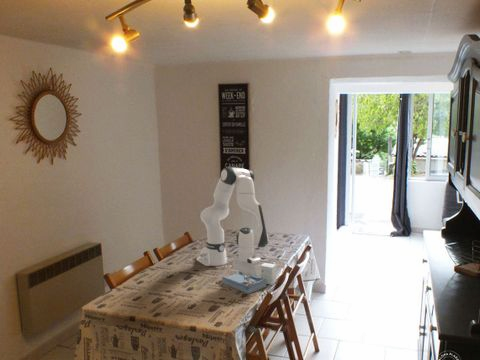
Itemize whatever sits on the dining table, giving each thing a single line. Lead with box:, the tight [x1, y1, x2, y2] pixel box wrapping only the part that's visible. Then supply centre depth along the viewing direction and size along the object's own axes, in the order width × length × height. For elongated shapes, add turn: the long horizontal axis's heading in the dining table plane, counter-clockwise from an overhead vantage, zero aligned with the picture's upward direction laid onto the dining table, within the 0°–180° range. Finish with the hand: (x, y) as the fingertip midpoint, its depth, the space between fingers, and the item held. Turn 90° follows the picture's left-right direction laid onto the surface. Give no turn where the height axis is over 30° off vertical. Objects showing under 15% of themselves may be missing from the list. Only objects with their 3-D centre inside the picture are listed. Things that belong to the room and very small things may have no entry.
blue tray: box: [221, 271, 267, 294], centre depth 243 cm, size 22×14×4 cm, turn 42°
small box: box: [259, 262, 278, 286], centre depth 246 cm, size 8×6×10 cm
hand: (246, 280), depth 241 cm, fingers closed
